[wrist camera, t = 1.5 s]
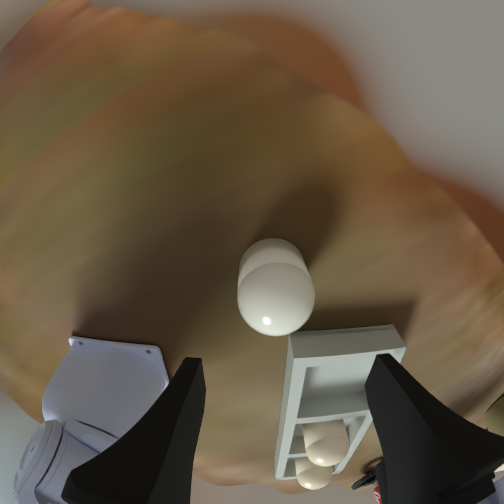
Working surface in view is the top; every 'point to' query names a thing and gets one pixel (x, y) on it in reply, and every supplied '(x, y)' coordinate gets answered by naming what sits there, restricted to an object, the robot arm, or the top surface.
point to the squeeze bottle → (496, 417)
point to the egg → (274, 287)
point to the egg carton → (327, 399)
